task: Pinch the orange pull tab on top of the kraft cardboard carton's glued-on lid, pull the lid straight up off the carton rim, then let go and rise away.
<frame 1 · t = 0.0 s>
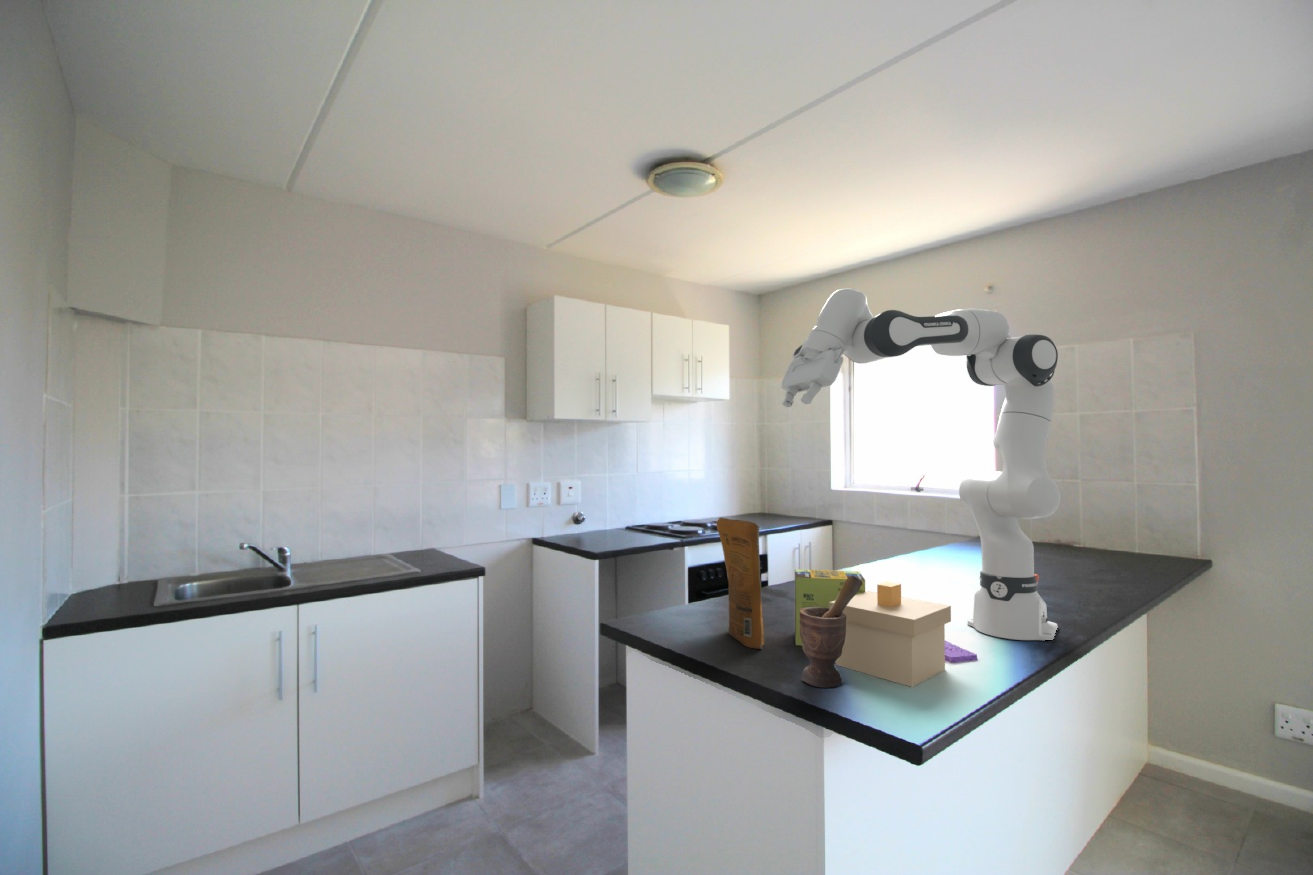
hand: (795, 404, 138), 54 cm above the worktop, tool tilted 30°, fingers open, 8 cm apart
mortar and pestle: (829, 681, 117), on the worktop
carton: (889, 667, 124), on the worktop
pancake mix bag: (742, 640, 143), on the worktop
protein box: (828, 642, 141), on the worktop
carton lid: (889, 601, 124), point 13 cm above the worktop, slide at 0.0 cm
sponges: (943, 655, 134), on the worktop
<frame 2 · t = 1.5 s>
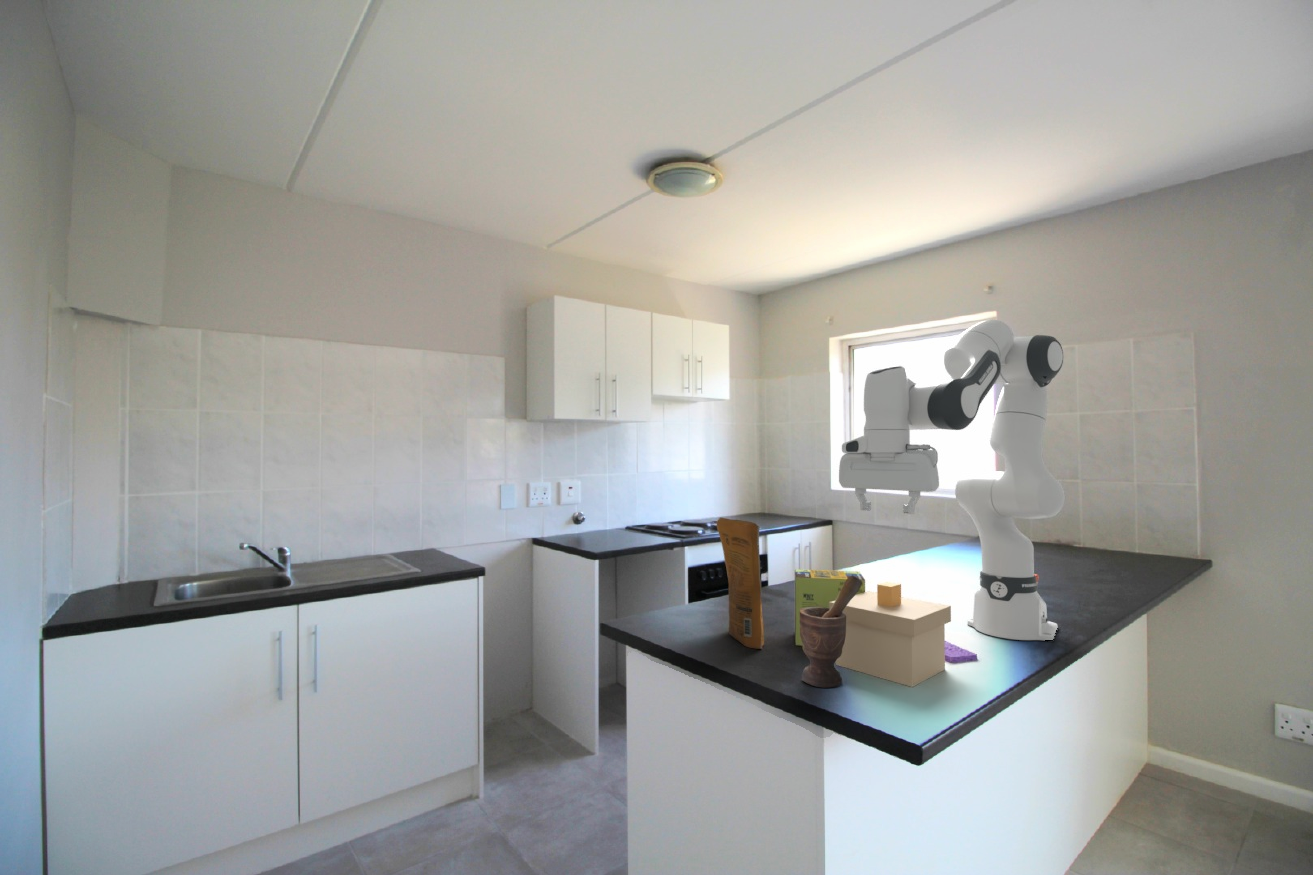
hand: (886, 512, 125), 31 cm above the worktop, tool pointing down, fingers open, 8 cm apart
nothing on the worktop moved.
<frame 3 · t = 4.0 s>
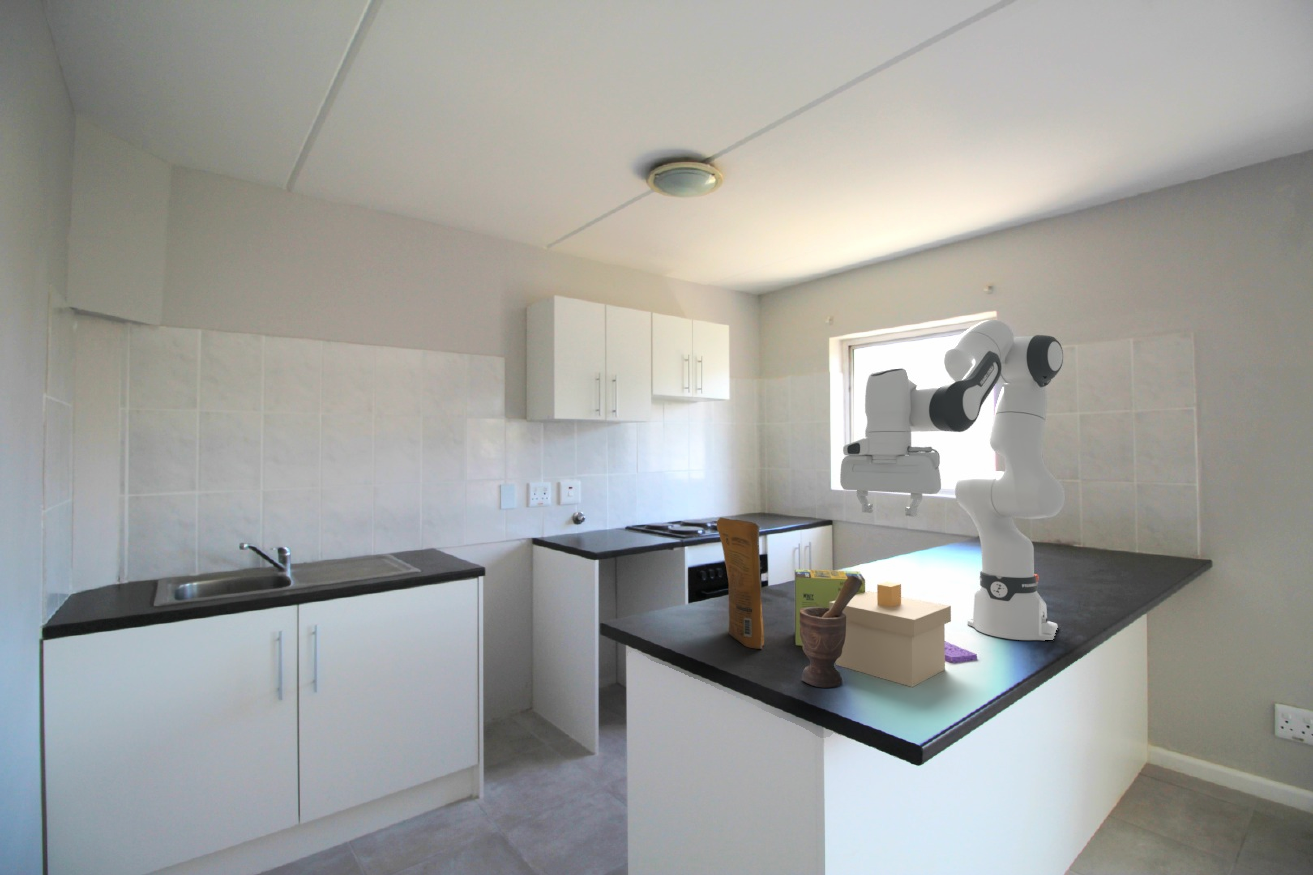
hand: (888, 514, 125), 31 cm above the worktop, tool pointing down, fingers open, 8 cm apart
nothing on the worktop moved.
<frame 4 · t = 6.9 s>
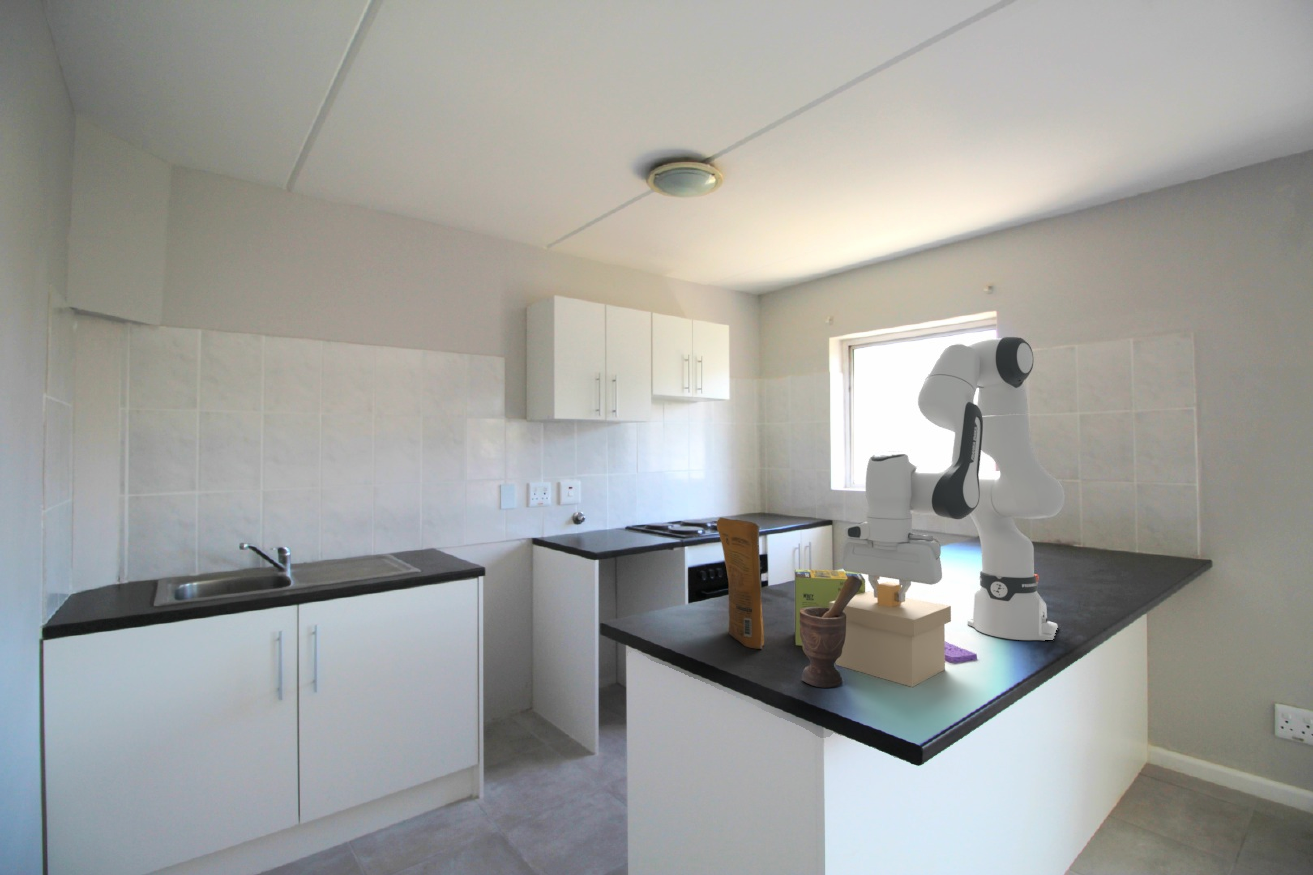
hand: (889, 599, 124), 14 cm above the worktop, tool pointing down, fingers closed on carton lid, 3 cm apart
carton lid: (889, 601, 124), point 13 cm above the worktop, slide at 0.0 cm, touching gripper
everything else where it was.
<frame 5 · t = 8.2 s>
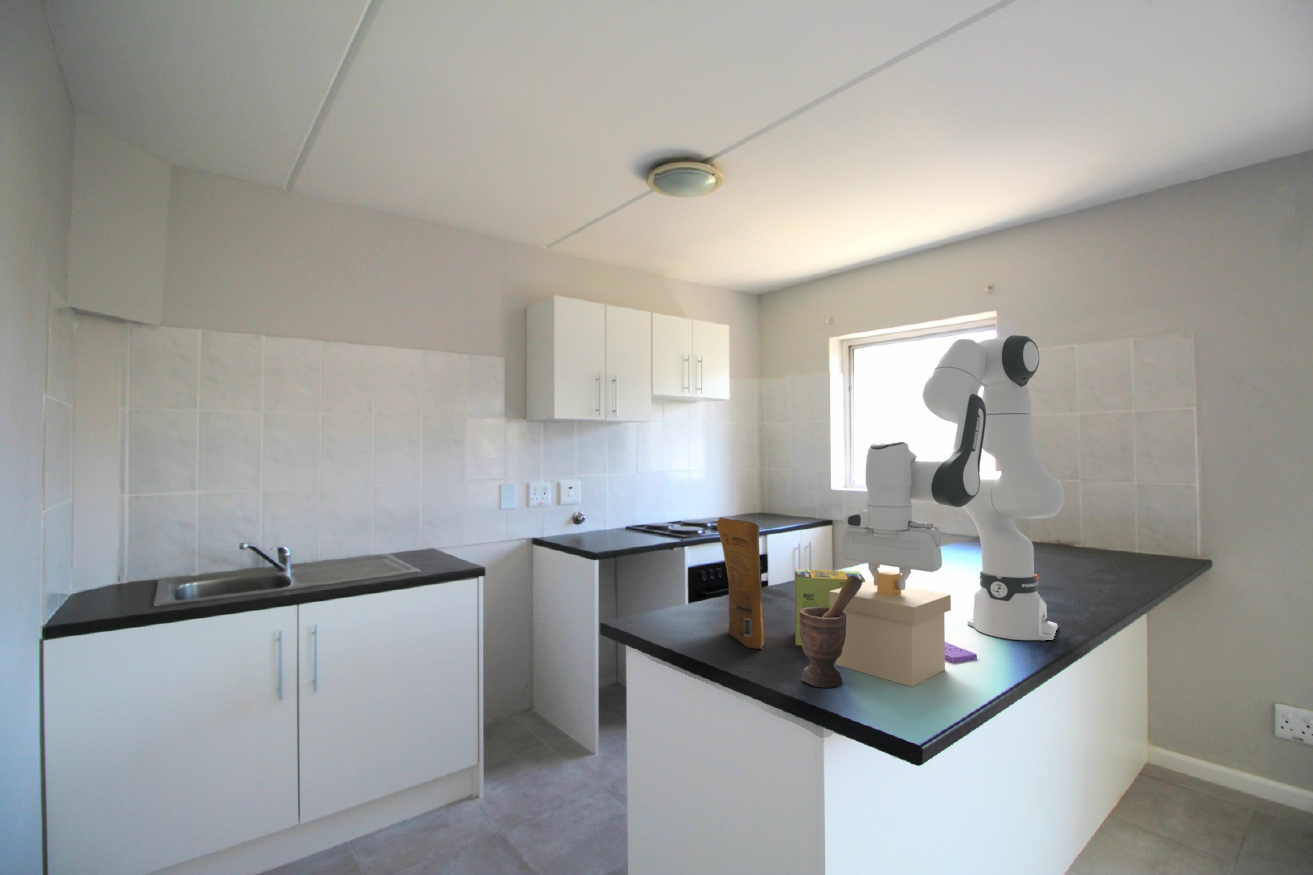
hand: (889, 587, 125), 16 cm above the worktop, tool pointing down, fingers closed on carton lid, 3 cm apart
carton lid: (889, 590, 124), point 15 cm above the worktop, slide at 2.3 cm, touching gripper
everything else where it was.
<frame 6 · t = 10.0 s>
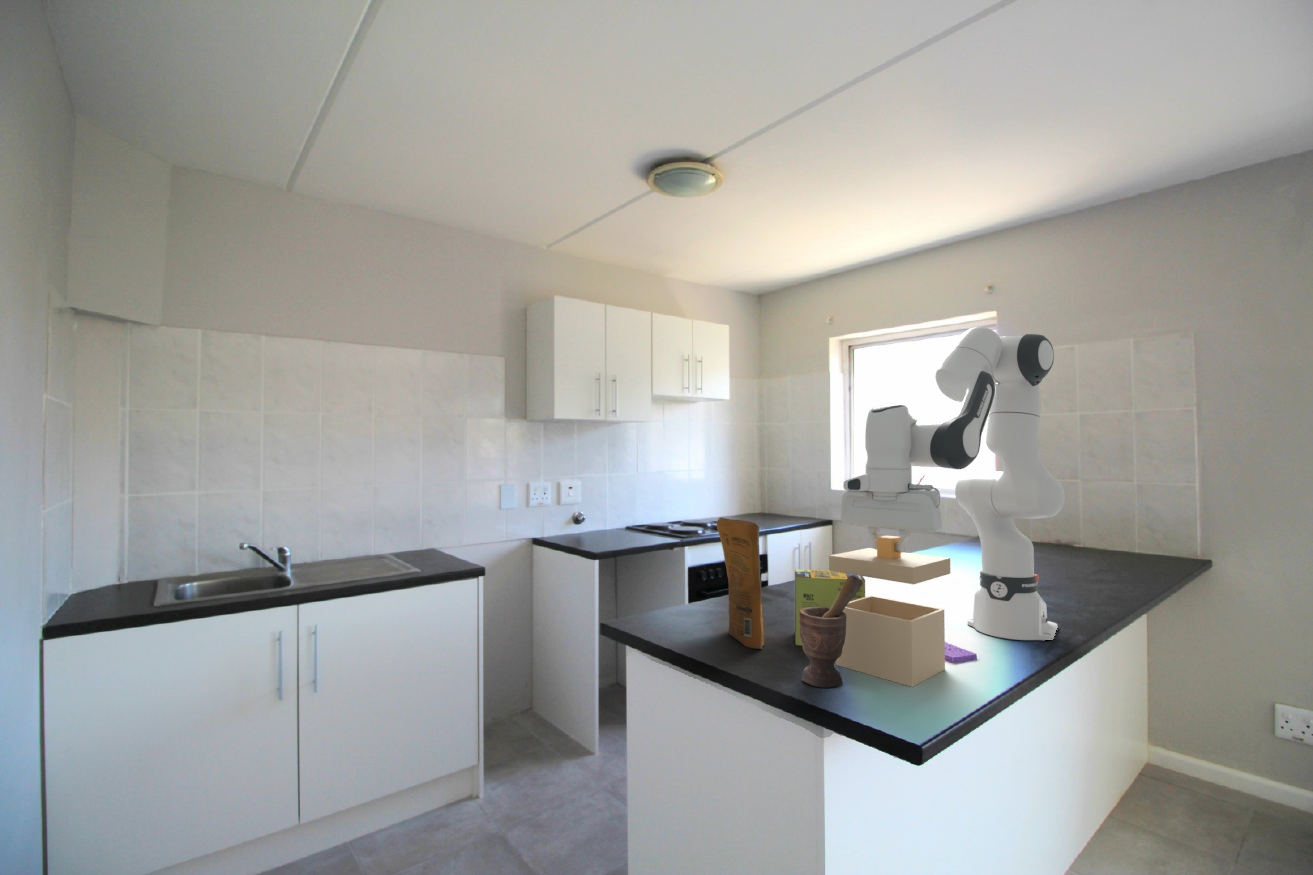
hand: (889, 550, 125), 23 cm above the worktop, tool pointing down, fingers closed on carton lid, 3 cm apart
carton lid: (888, 554, 125), point 23 cm above the worktop, slide at 9.6 cm, touching gripper
everything else where it was.
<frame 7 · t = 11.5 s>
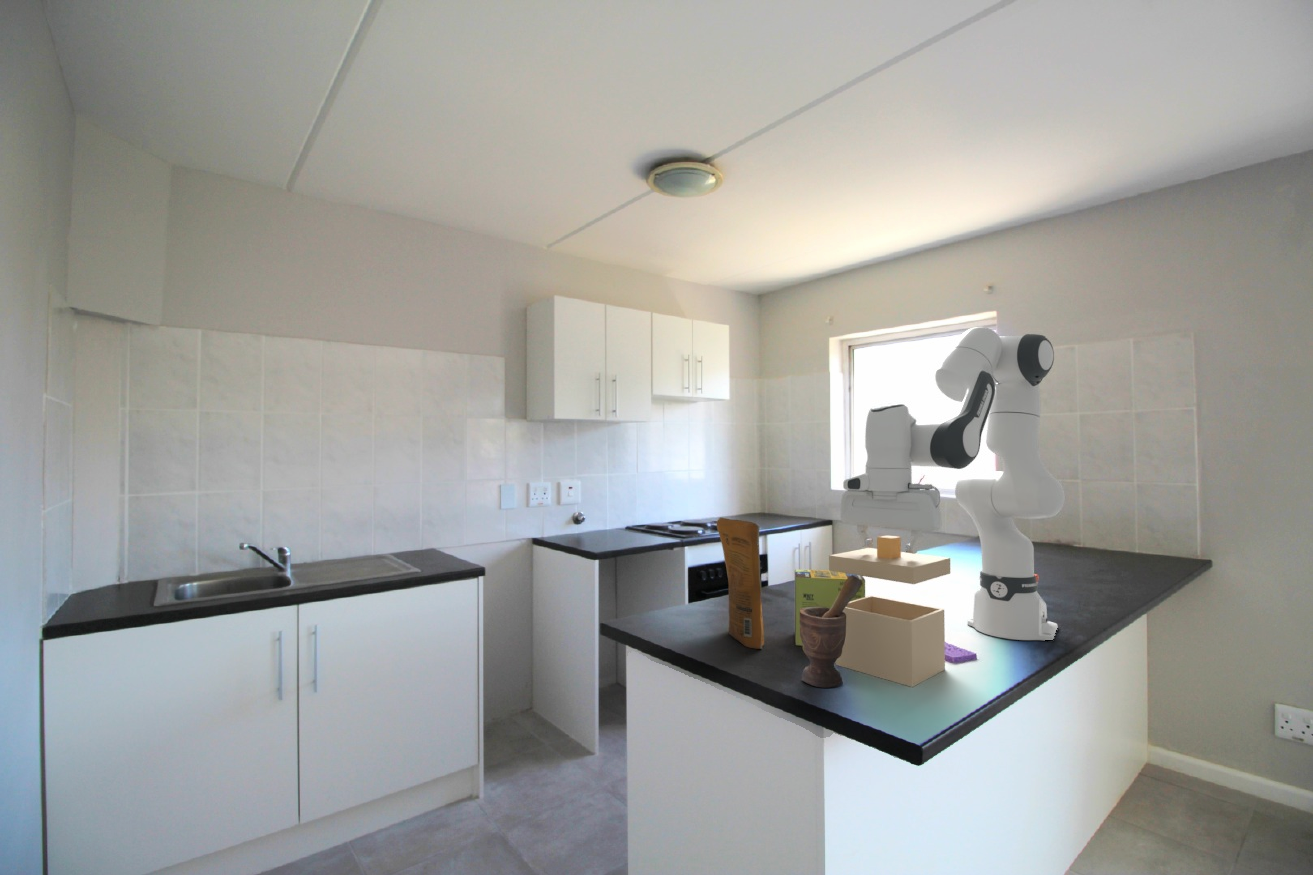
hand: (888, 550, 125), 24 cm above the worktop, tool pointing down, fingers open, 8 cm apart
carton lid: (888, 554, 125), point 23 cm above the worktop, slide at 9.6 cm
everything else where it was.
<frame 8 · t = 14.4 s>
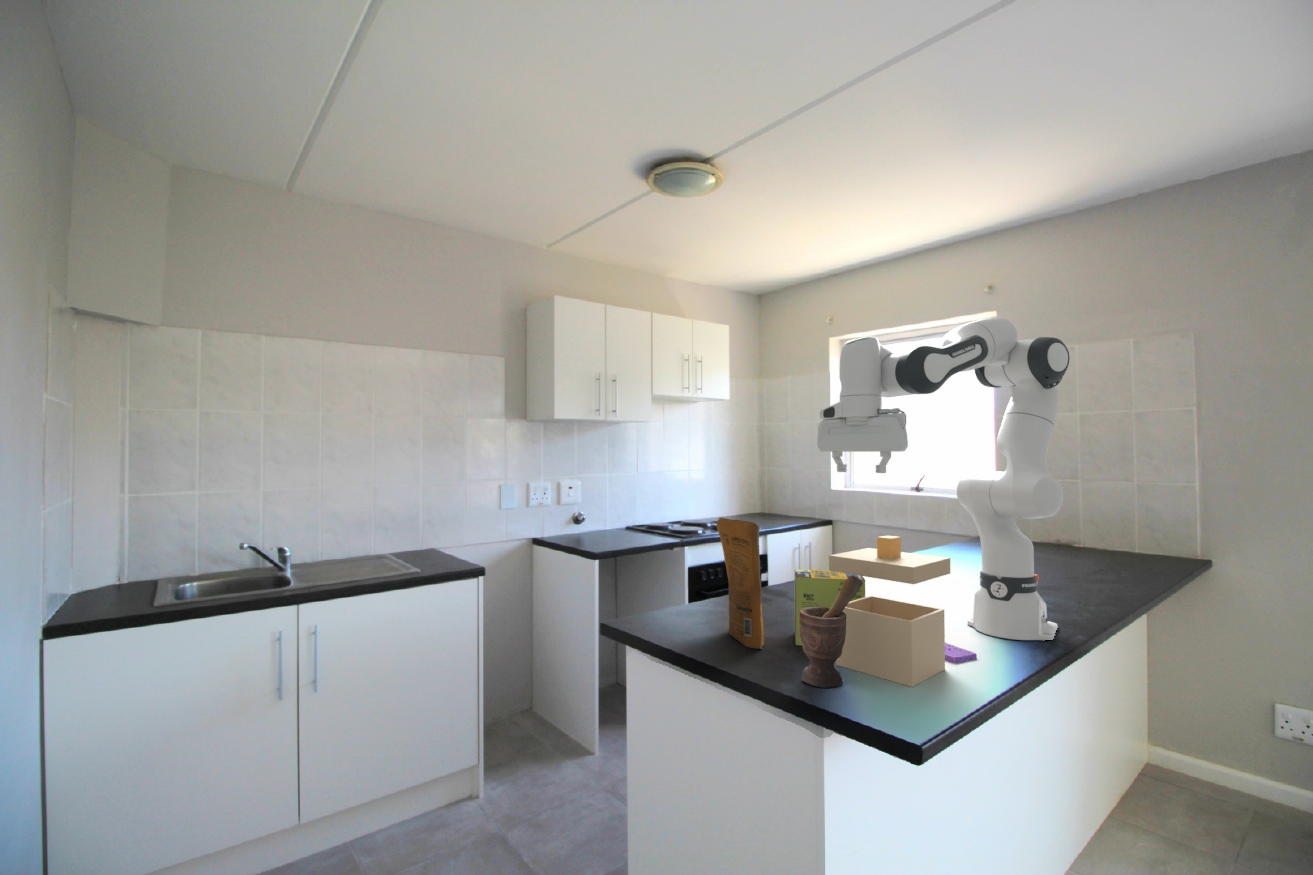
hand: (860, 472, 135), 39 cm above the worktop, tool pointing down, fingers open, 8 cm apart
nothing on the worktop moved.
at the end: carton lid slide at 9.6 cm; the gripper is holding nothing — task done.
